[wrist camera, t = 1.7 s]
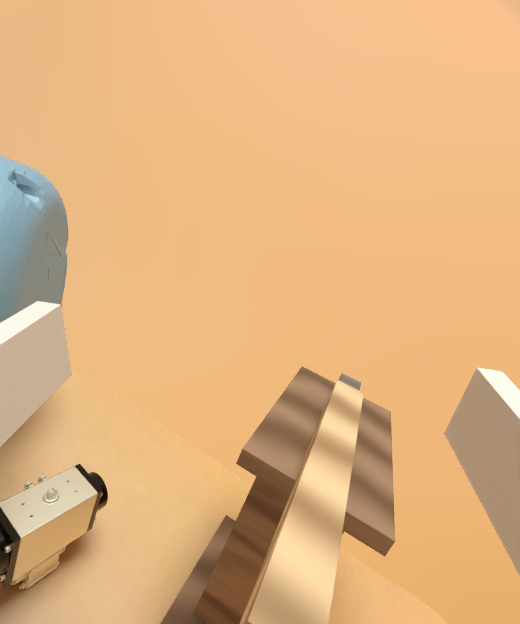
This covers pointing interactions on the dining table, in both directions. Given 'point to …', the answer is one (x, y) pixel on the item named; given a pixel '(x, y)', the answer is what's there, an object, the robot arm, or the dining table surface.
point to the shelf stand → (275, 493)
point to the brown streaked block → (311, 522)
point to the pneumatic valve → (46, 523)
